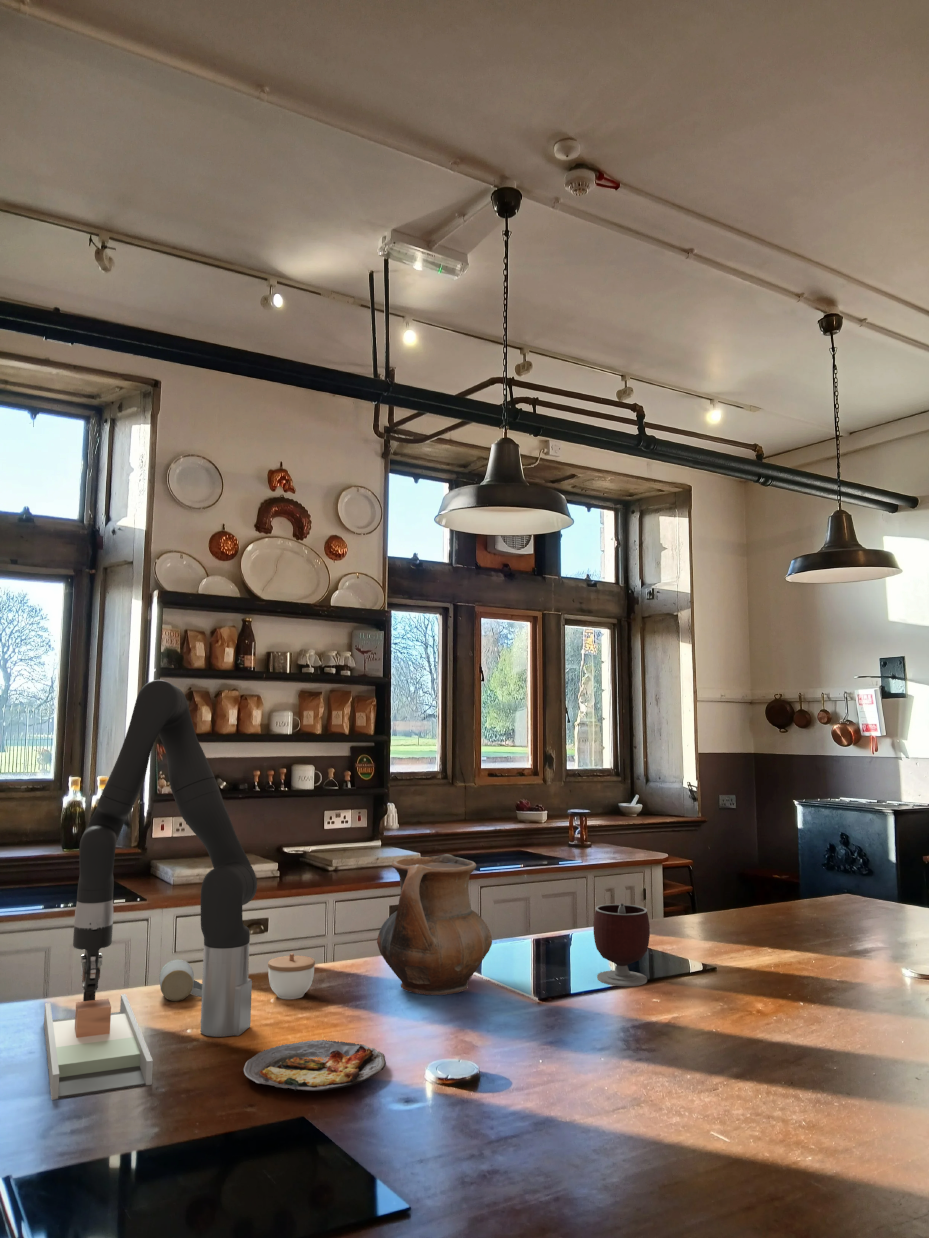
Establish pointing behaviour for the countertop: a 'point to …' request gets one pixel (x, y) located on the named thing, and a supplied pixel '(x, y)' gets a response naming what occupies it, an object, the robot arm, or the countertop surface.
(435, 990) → the jug
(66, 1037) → the trap channel
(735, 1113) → the countertop surface
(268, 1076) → the food plate
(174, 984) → the ceramic mug
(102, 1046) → the pad
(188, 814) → the robot arm
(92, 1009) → the block
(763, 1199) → the countertop surface
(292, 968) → the lidded jar
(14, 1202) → the countertop surface
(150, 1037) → the countertop surface
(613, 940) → the mate gourd
